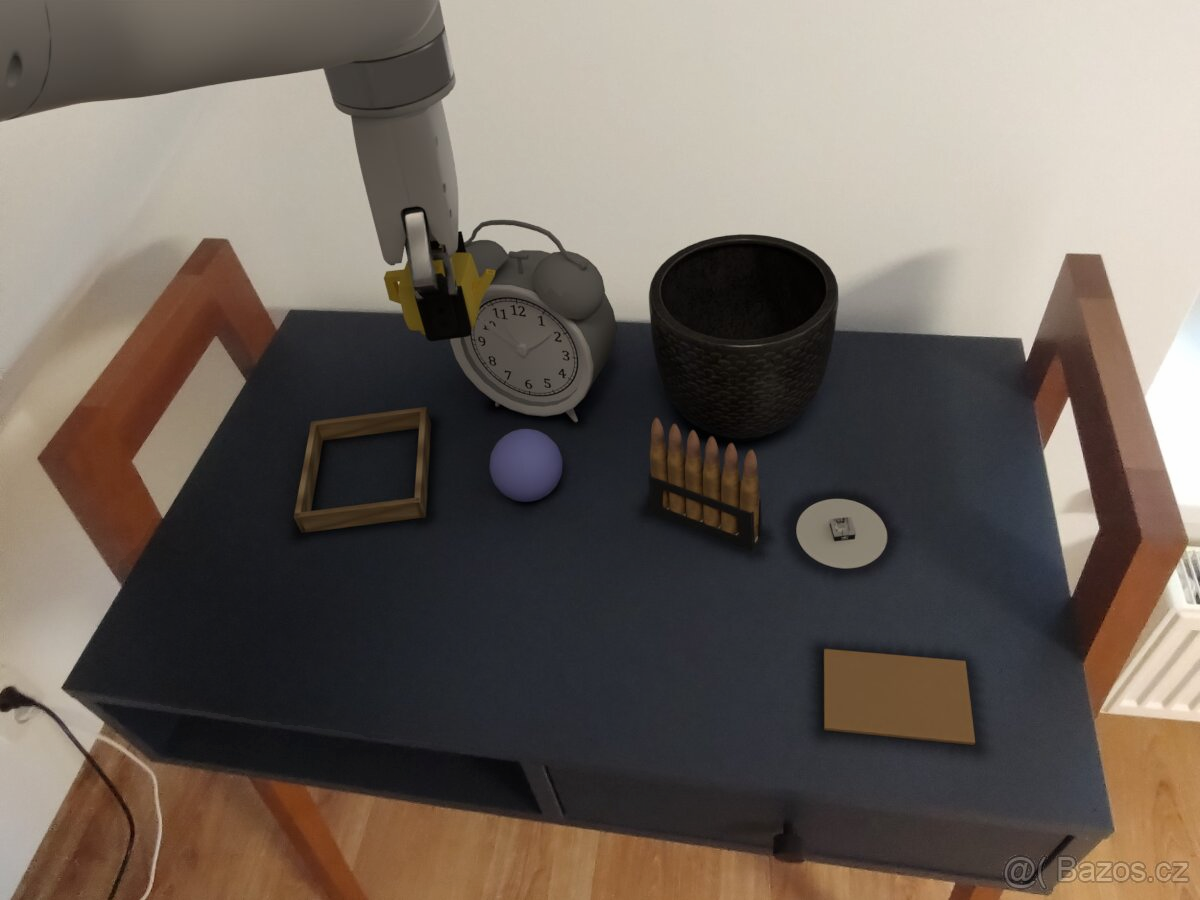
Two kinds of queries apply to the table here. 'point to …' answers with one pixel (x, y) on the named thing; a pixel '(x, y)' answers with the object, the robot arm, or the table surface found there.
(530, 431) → the sphere
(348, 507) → the wooden frame
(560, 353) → the alarm clock
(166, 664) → the table surface
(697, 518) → the ammunition clip
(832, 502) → the white round disc
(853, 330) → the table surface
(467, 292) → the teapot
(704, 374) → the planter
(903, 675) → the cork mat
